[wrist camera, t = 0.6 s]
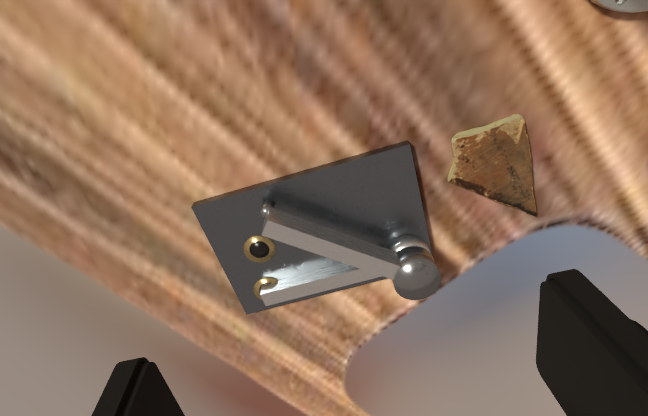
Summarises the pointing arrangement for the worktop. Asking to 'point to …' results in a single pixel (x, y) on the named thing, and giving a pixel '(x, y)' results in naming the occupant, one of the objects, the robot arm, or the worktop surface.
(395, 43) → the worktop surface
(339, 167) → the divider base plate
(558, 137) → the worktop surface
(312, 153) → the worktop surface
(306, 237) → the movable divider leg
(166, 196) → the worktop surface
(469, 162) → the shard
